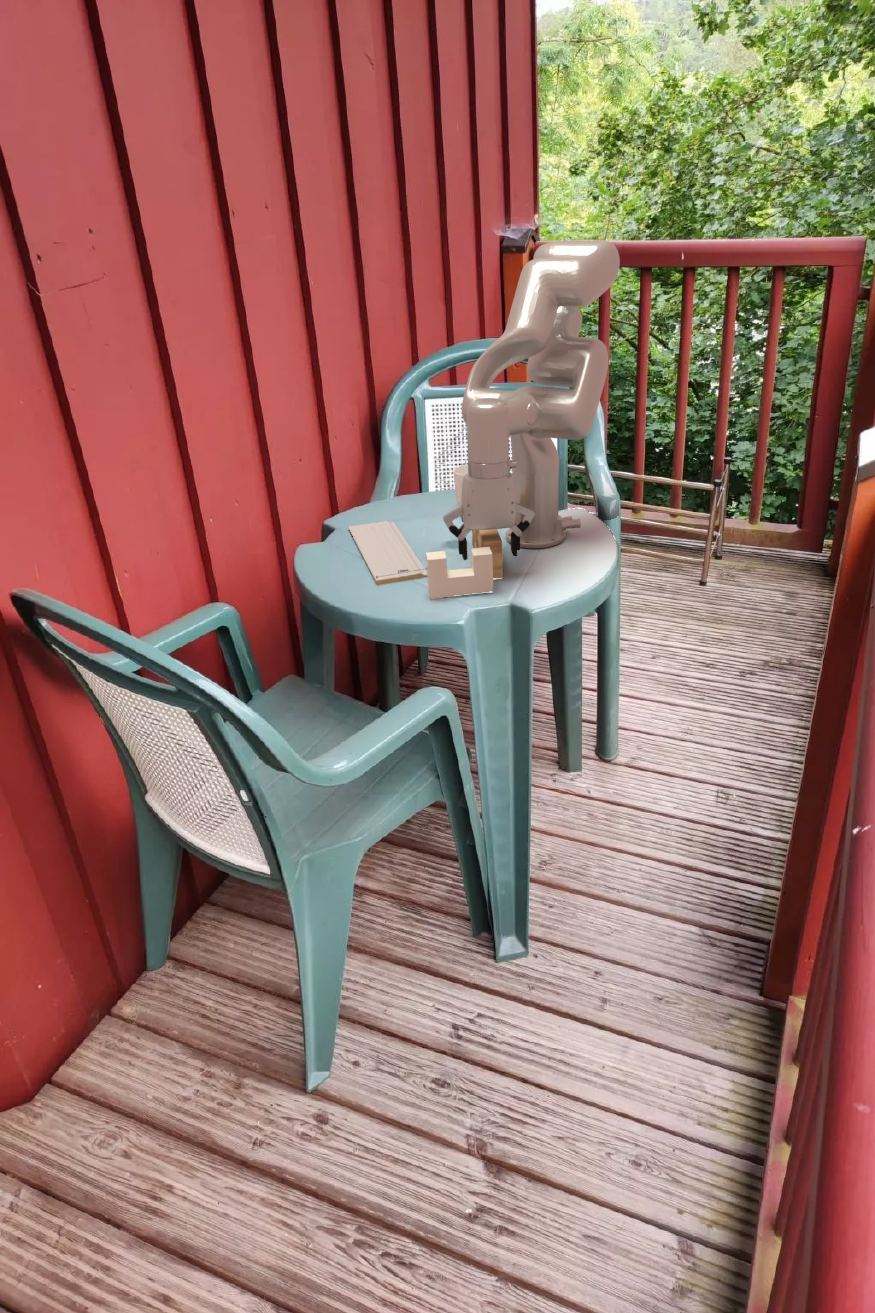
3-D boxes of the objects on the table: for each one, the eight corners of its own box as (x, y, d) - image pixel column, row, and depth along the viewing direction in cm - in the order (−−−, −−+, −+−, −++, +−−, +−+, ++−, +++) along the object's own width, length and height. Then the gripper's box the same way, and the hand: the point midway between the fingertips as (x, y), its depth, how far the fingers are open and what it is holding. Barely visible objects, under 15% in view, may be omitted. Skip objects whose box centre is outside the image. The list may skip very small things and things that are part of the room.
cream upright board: (490, 585, 173) (489, 546, 169) (493, 593, 170) (492, 553, 166) (428, 591, 172) (425, 552, 168) (430, 599, 169) (427, 560, 165)
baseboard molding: (400, 524, 205) (348, 533, 202) (399, 512, 203) (347, 520, 201) (435, 577, 178) (376, 588, 176) (435, 564, 177) (375, 574, 175)
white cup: (459, 519, 204) (457, 477, 199) (452, 508, 211) (450, 466, 206) (493, 515, 205) (492, 472, 200) (484, 503, 212) (483, 462, 207)
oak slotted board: (472, 545, 190) (471, 509, 186) (488, 544, 190) (487, 508, 186) (485, 580, 175) (483, 542, 171) (502, 579, 175) (501, 540, 171)
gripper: (530, 460, 169) (529, 545, 177) (439, 465, 168) (442, 552, 176) (538, 471, 163) (537, 559, 171) (443, 477, 162) (446, 566, 169)
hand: (489, 555), depth 173 cm, fingers open, 9 cm apart
